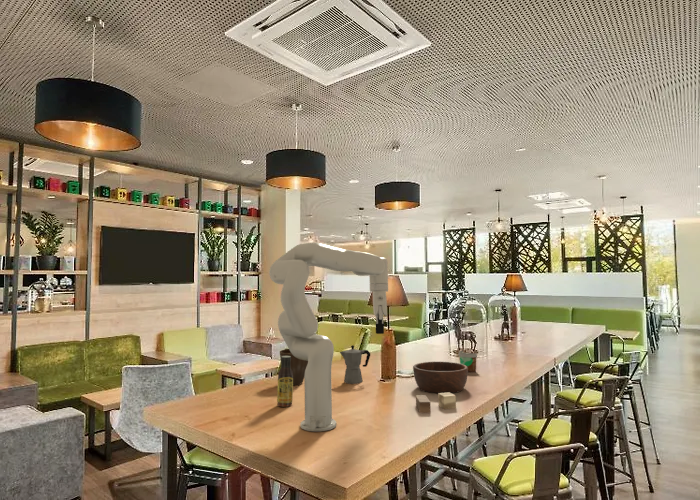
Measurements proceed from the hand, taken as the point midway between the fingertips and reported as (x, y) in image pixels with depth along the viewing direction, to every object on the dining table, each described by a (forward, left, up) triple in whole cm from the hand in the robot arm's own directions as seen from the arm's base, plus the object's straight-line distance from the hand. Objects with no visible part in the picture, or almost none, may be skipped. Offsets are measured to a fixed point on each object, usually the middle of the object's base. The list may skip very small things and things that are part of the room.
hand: (379, 333), depth 183 cm
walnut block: (+1, -16, -27) cm, 32 cm away
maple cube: (-2, -26, -29) cm, 39 cm away
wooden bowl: (+28, -30, -29) cm, 50 cm away
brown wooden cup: (+44, +39, -29) cm, 66 cm away
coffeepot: (+45, +9, -29) cm, 54 cm away
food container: (+66, -52, -29) cm, 89 cm away
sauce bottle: (+5, +39, -29) cm, 49 cm away
